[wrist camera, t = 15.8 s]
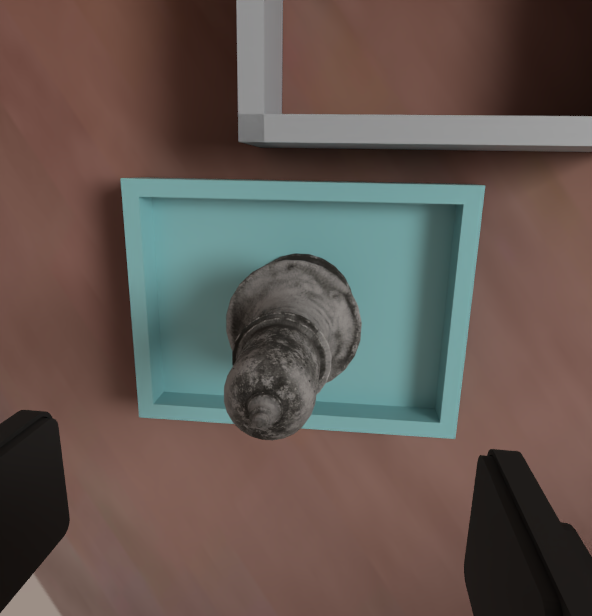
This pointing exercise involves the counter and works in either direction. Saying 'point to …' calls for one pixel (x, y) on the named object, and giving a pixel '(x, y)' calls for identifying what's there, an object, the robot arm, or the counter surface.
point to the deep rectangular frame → (371, 128)
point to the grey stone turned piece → (287, 342)
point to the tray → (322, 243)
